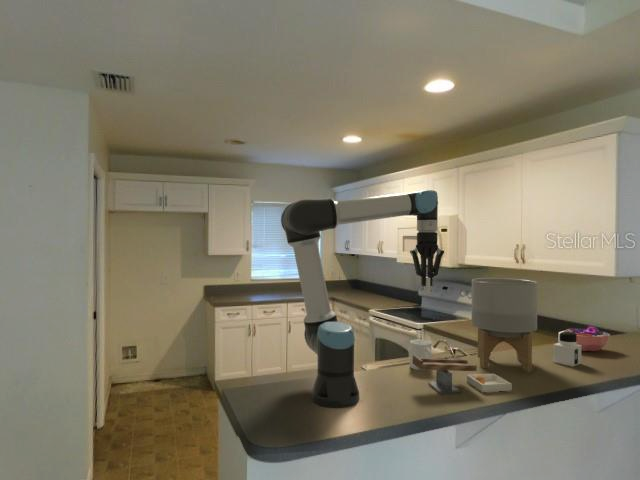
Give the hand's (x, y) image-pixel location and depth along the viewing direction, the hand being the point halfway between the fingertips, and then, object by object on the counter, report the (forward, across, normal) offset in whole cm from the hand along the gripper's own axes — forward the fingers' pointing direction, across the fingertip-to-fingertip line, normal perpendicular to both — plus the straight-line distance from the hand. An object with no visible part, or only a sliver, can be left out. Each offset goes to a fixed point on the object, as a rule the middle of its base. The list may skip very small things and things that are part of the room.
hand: (426, 294), depth 158 cm
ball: (+28, +14, -14) cm, 34 cm away
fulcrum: (+30, 0, -14) cm, 33 cm away
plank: (+23, +1, -11) cm, 26 cm away
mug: (+31, +2, +8) cm, 32 cm away
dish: (+30, +17, -14) cm, 37 cm away
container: (+31, +65, +8) cm, 72 cm away
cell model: (+31, +89, +26) cm, 98 cm away
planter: (+31, +38, +11) cm, 50 cm away
